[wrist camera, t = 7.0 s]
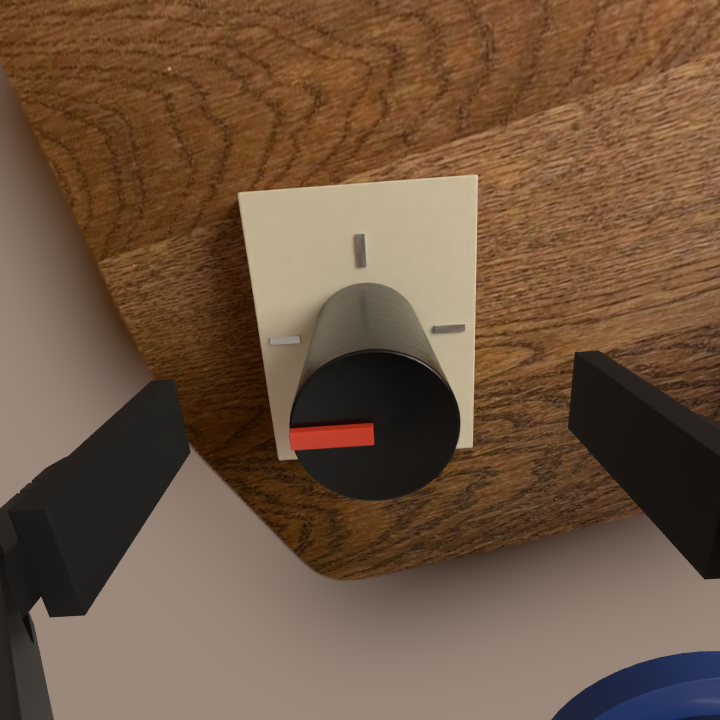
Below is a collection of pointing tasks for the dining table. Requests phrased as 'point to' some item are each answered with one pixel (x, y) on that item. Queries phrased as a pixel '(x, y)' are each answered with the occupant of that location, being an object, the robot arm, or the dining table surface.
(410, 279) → the panel
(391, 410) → the dial
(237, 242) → the dining table surface
